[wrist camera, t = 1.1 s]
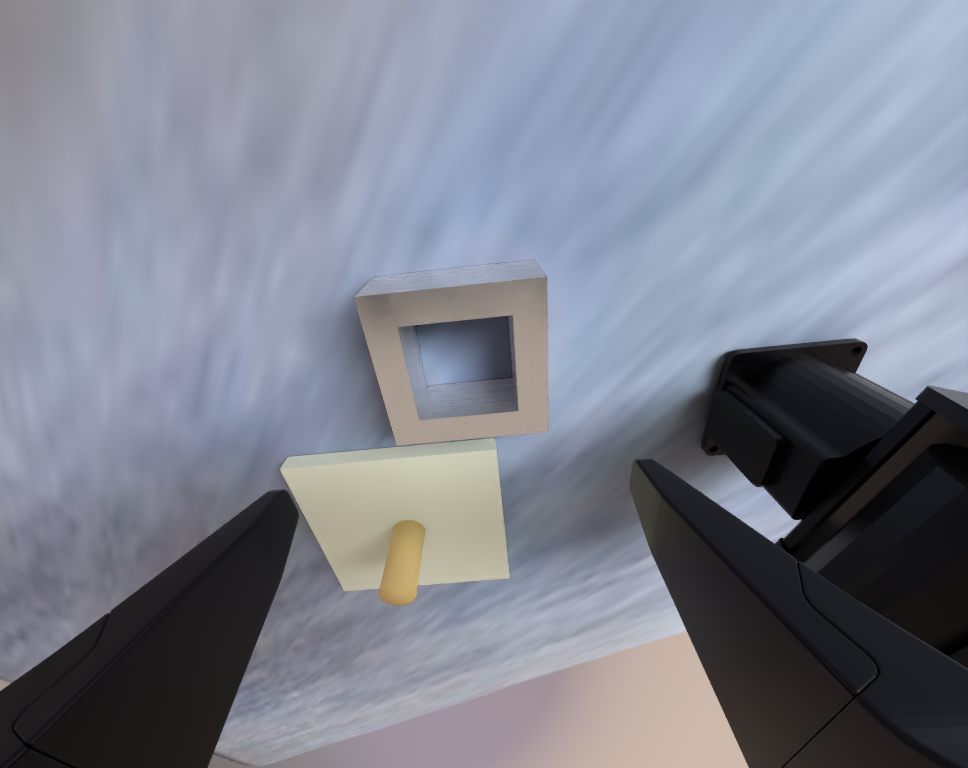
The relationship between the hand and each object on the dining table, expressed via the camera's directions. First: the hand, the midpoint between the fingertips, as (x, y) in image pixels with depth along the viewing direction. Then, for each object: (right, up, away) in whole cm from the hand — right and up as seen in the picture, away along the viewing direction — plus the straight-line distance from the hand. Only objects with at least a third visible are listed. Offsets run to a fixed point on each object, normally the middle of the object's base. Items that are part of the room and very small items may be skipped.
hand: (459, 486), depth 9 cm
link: (0, +5, +8) cm, 9 cm away
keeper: (-4, -6, +14) cm, 16 cm away
